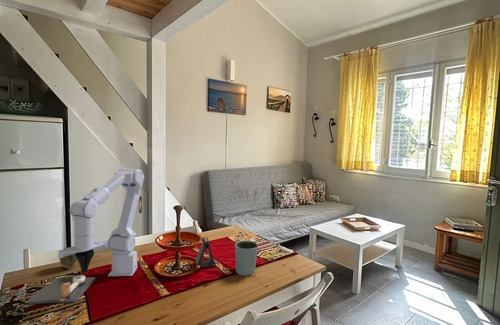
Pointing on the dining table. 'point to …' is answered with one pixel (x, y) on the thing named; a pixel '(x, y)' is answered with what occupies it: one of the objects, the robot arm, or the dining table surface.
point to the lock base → (59, 291)
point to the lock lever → (66, 287)
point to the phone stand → (200, 255)
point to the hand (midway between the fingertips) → (84, 271)
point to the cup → (68, 260)
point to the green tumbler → (246, 257)
